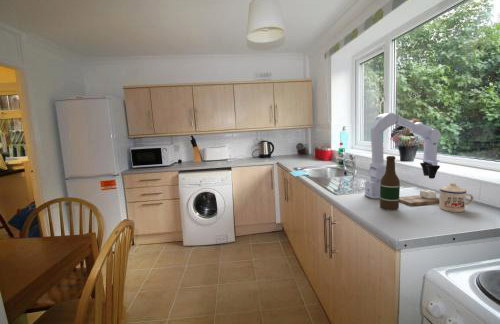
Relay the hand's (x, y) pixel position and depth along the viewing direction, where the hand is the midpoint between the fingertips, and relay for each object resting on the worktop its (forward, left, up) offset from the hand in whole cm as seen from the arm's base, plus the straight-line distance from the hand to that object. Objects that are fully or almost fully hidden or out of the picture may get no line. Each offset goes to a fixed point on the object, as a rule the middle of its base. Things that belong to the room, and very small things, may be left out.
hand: (428, 177), depth 132 cm
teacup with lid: (-10, -24, -10) cm, 27 cm away
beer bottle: (-35, -15, -10) cm, 39 cm away
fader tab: (-10, -9, -8) cm, 16 cm away
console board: (-15, -10, -10) cm, 20 cm away
